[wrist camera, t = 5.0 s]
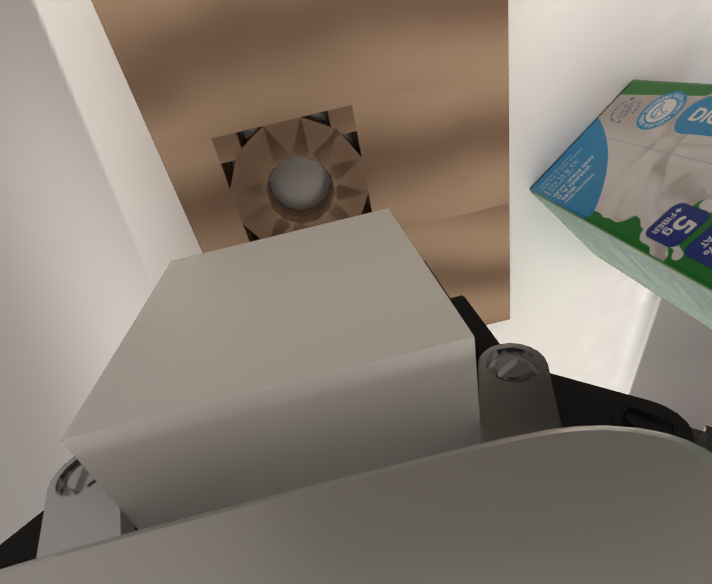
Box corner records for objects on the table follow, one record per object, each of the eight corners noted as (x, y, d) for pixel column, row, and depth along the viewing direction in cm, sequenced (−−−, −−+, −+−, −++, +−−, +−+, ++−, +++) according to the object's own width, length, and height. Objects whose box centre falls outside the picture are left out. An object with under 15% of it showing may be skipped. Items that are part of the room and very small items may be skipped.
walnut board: (496, 302, 34) (509, 319, 32) (261, 360, 33) (259, 381, 31) (485, -96, 21) (507, -115, 19) (106, -8, 21) (84, -16, 18)
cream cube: (415, 372, 14) (488, 553, 9) (246, 415, 14) (219, 623, 9) (388, 208, 11) (474, 336, 6) (171, 261, 11) (60, 440, 6)
